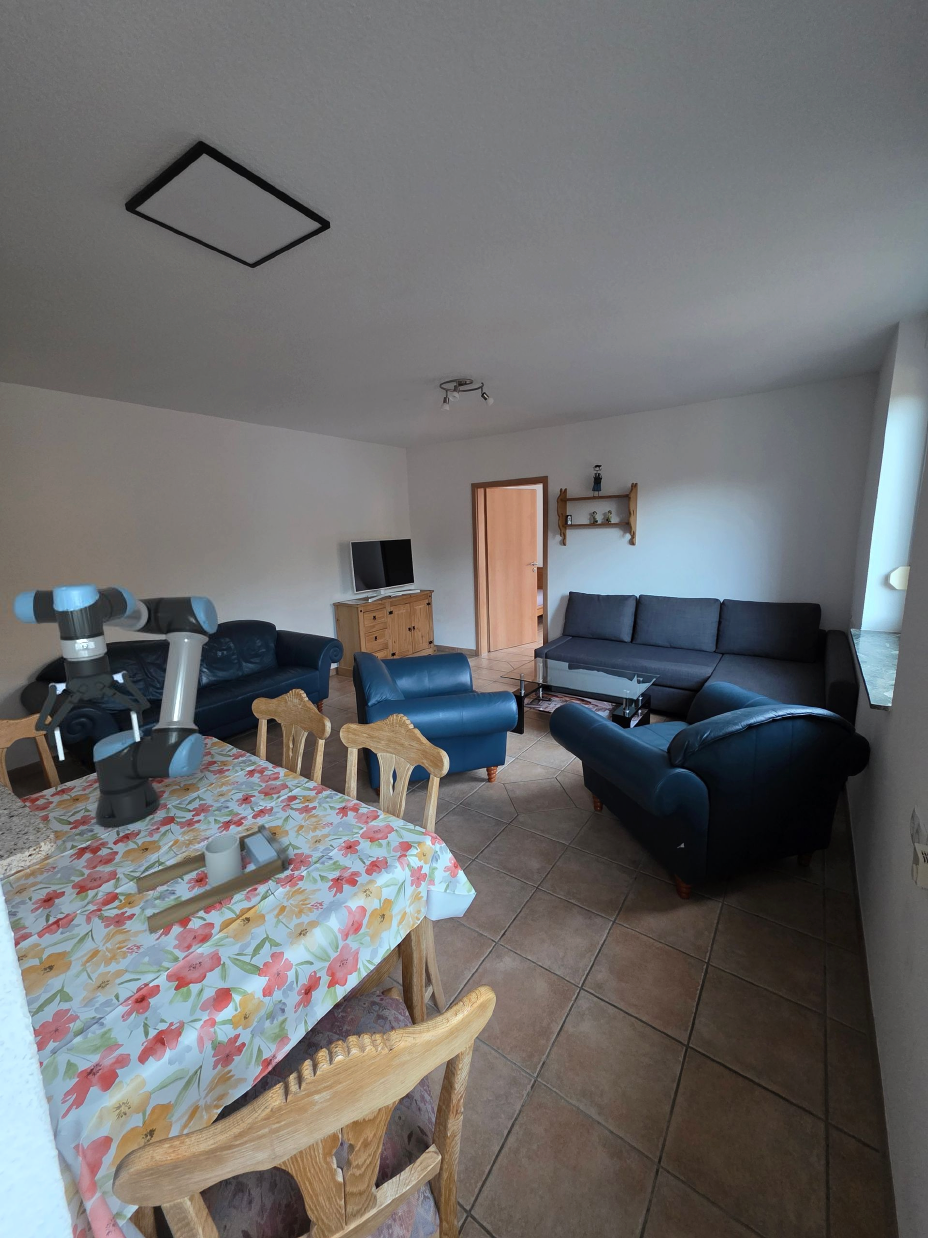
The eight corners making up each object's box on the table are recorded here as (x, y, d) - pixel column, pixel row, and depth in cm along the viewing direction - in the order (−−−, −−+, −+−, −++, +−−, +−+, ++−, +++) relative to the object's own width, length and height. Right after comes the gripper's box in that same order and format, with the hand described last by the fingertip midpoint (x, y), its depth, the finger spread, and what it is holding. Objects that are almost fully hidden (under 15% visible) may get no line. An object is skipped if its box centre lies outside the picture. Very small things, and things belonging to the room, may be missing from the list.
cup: (209, 894, 107) (204, 858, 106) (206, 868, 116) (202, 834, 114) (244, 882, 111) (240, 847, 109) (239, 857, 119) (236, 824, 118)
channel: (137, 891, 109) (135, 875, 108) (264, 838, 127) (263, 824, 126) (150, 934, 97) (147, 917, 96) (288, 869, 115) (287, 854, 114)
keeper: (244, 839, 120) (260, 833, 123) (245, 854, 121) (262, 847, 124) (259, 861, 112) (277, 853, 115) (261, 877, 113) (278, 869, 115)
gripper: (6, 671, 94) (26, 773, 98) (156, 649, 110) (168, 737, 114) (8, 663, 99) (26, 760, 103) (150, 643, 115) (162, 727, 119)
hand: (101, 748), depth 108 cm, fingers open, 13 cm apart
